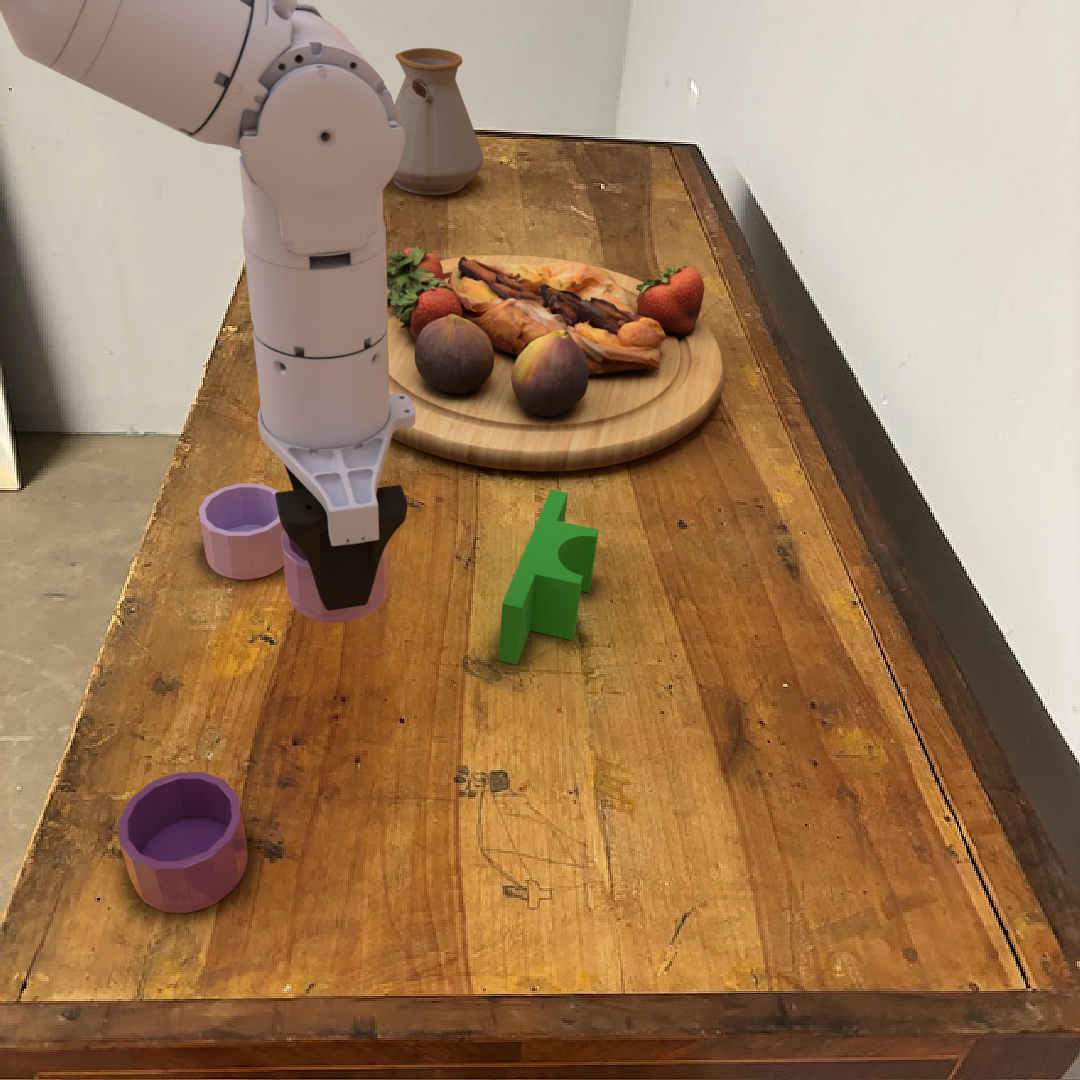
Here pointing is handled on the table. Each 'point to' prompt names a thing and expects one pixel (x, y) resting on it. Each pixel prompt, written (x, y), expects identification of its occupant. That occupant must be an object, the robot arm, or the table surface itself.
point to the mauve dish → (305, 590)
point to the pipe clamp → (548, 580)
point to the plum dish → (184, 841)
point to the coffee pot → (434, 125)
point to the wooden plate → (546, 359)
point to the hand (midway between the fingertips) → (336, 565)
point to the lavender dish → (242, 531)
